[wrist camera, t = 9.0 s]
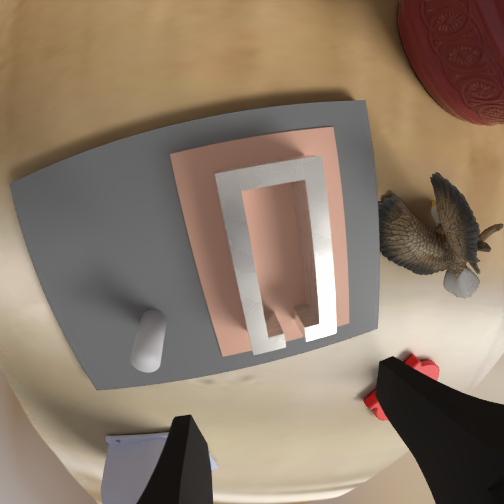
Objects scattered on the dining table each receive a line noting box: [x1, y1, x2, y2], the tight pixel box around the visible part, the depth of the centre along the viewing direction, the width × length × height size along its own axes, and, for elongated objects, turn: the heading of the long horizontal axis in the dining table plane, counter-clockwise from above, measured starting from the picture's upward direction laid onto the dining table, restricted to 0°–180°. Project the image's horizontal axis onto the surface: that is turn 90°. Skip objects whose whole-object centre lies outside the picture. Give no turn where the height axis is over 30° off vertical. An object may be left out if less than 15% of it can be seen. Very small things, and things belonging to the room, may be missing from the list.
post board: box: [10, 100, 380, 390], centre depth 15 cm, size 22×16×5 cm
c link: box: [213, 155, 336, 355], centre depth 16 cm, size 5×10×2 cm, turn 10°
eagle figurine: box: [378, 172, 503, 299], centre depth 17 cm, size 8×7×9 cm
